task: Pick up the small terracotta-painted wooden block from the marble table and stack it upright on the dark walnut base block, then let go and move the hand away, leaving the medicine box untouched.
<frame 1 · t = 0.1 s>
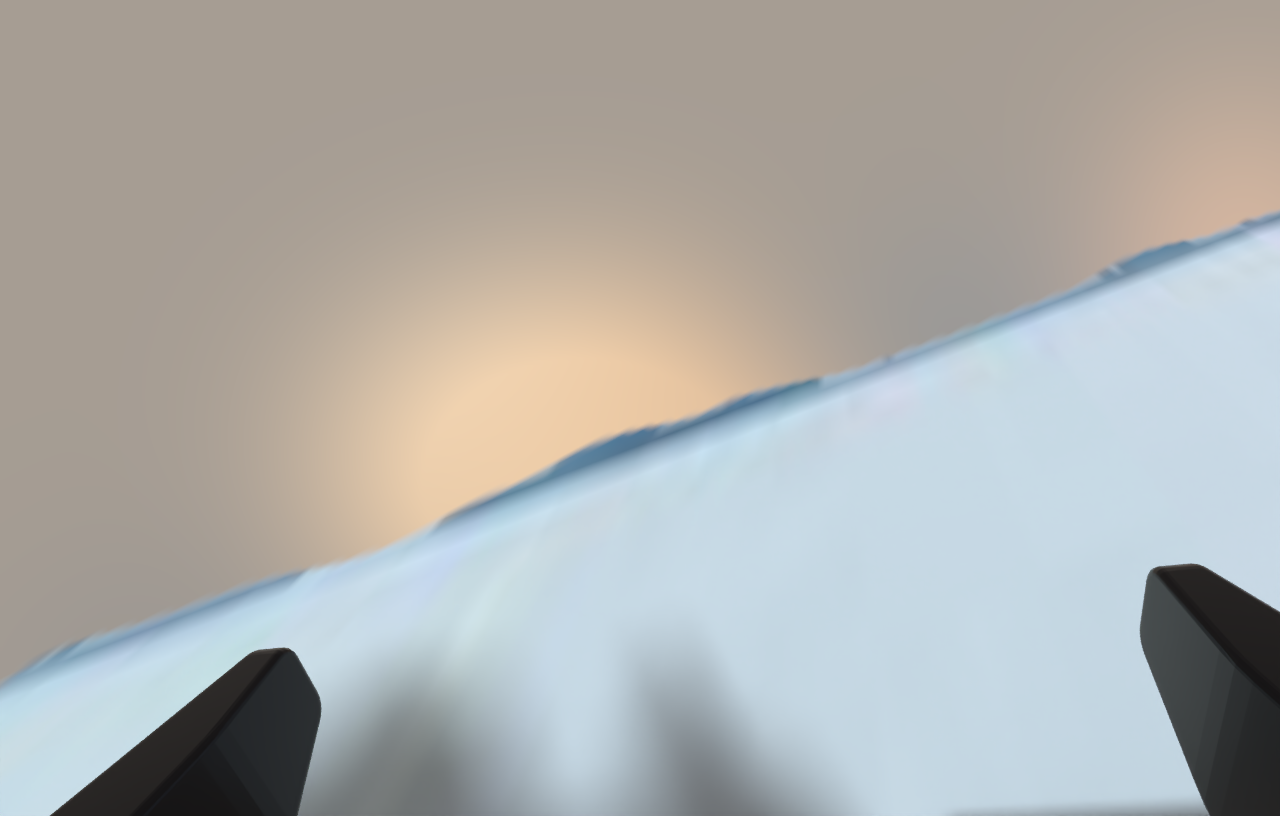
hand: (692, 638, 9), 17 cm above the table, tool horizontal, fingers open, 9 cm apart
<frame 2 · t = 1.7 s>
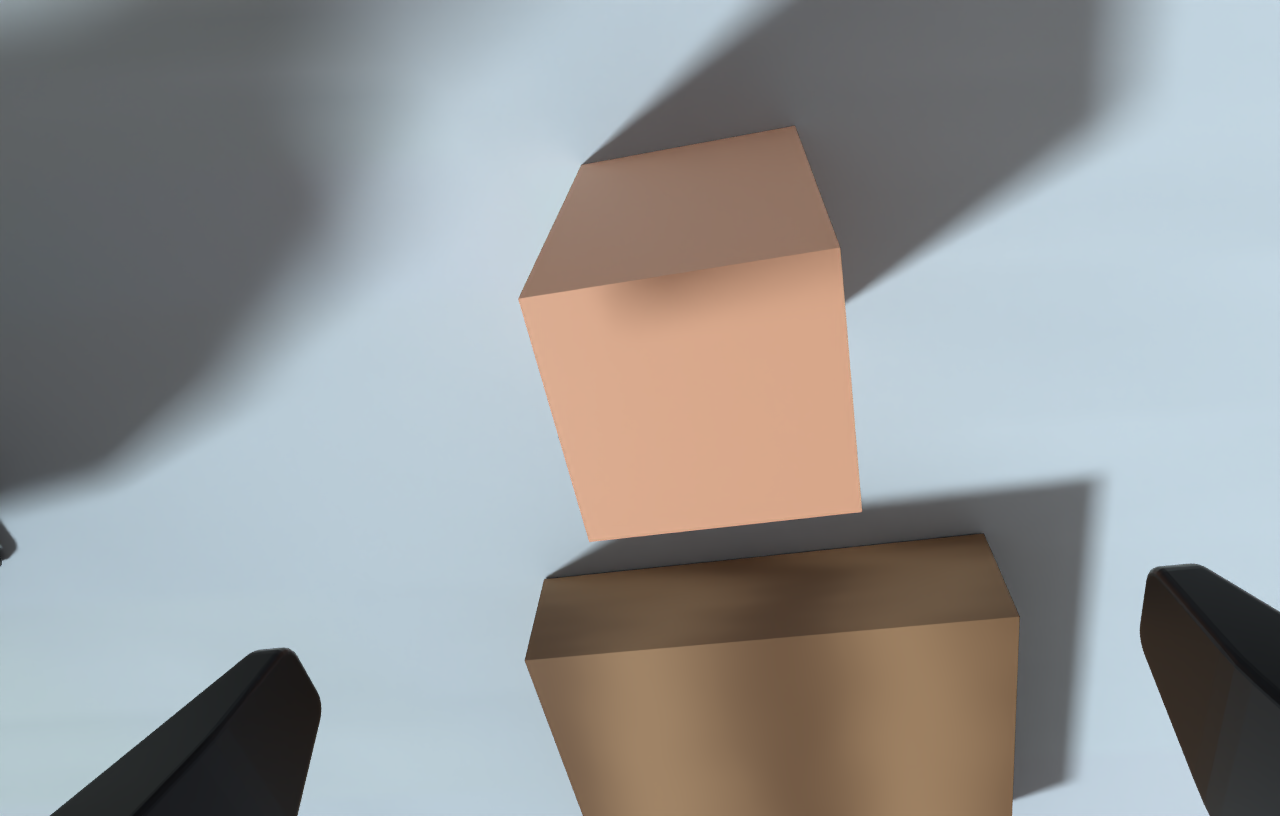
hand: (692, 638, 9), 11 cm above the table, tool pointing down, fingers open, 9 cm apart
walnut base: (779, 704, 26), on the table
terracotta block: (703, 247, 19), on the table
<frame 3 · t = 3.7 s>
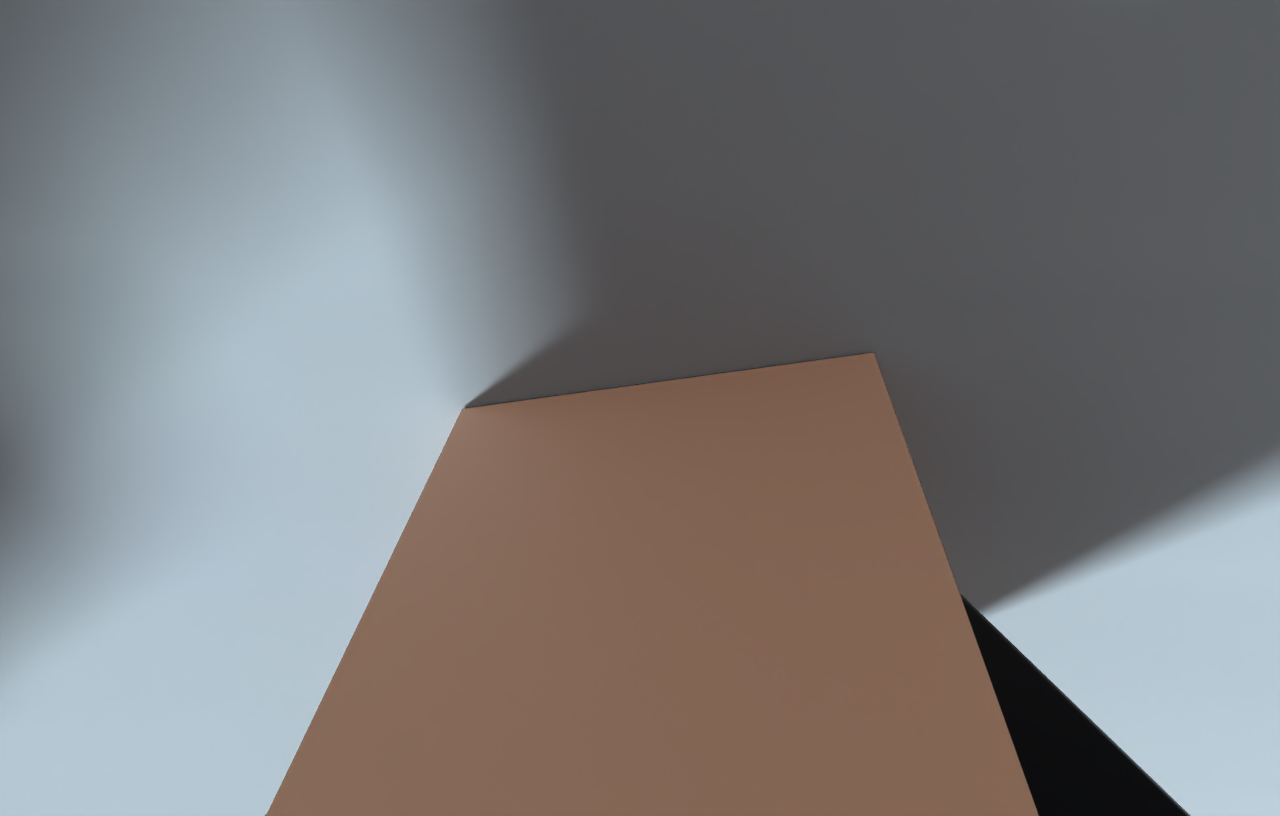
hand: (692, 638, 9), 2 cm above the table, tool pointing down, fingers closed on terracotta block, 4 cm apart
terracotta block: (693, 542, 10), on the table, touching gripper
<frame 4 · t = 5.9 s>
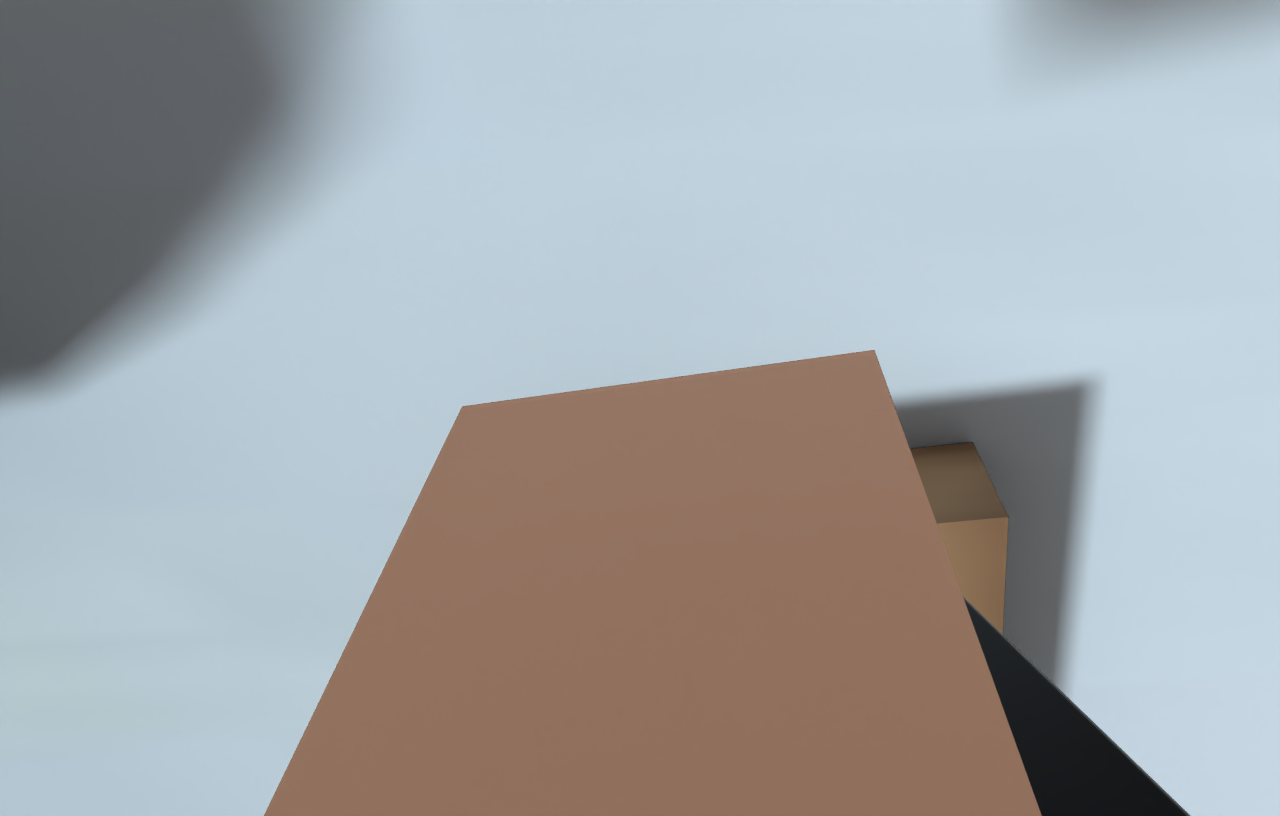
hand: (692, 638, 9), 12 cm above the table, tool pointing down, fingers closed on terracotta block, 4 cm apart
walnut base: (759, 631, 25), on the table
terracotta block: (693, 540, 10), point 10 cm above the table, touching gripper
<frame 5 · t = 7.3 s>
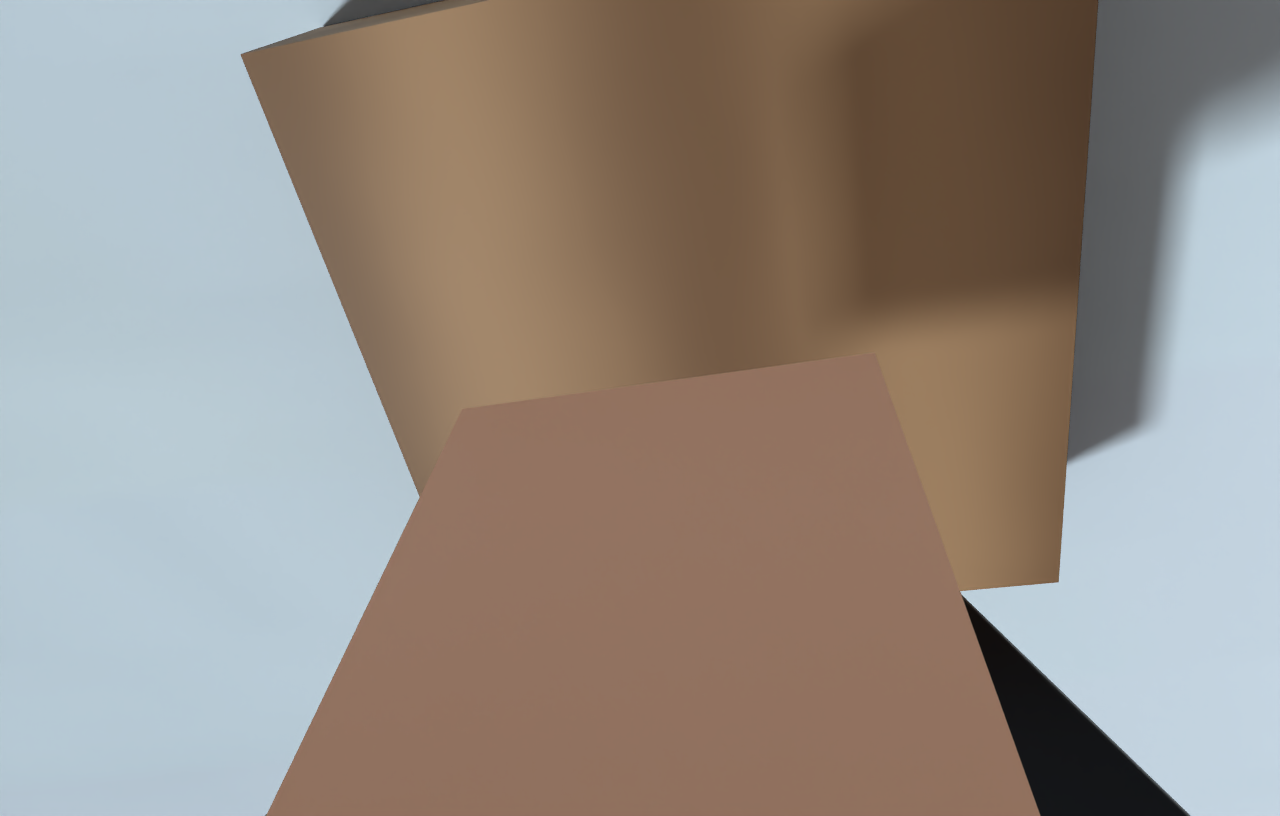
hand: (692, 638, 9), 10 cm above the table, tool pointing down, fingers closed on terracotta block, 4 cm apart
walnut base: (706, 285, 17), on the table
terracotta block: (694, 542, 10), point 8 cm above the table, touching gripper
when the fingers open (6 cm above the table, at t = 8.2 s): terracotta block drops 1 cm, resting on walnut base.
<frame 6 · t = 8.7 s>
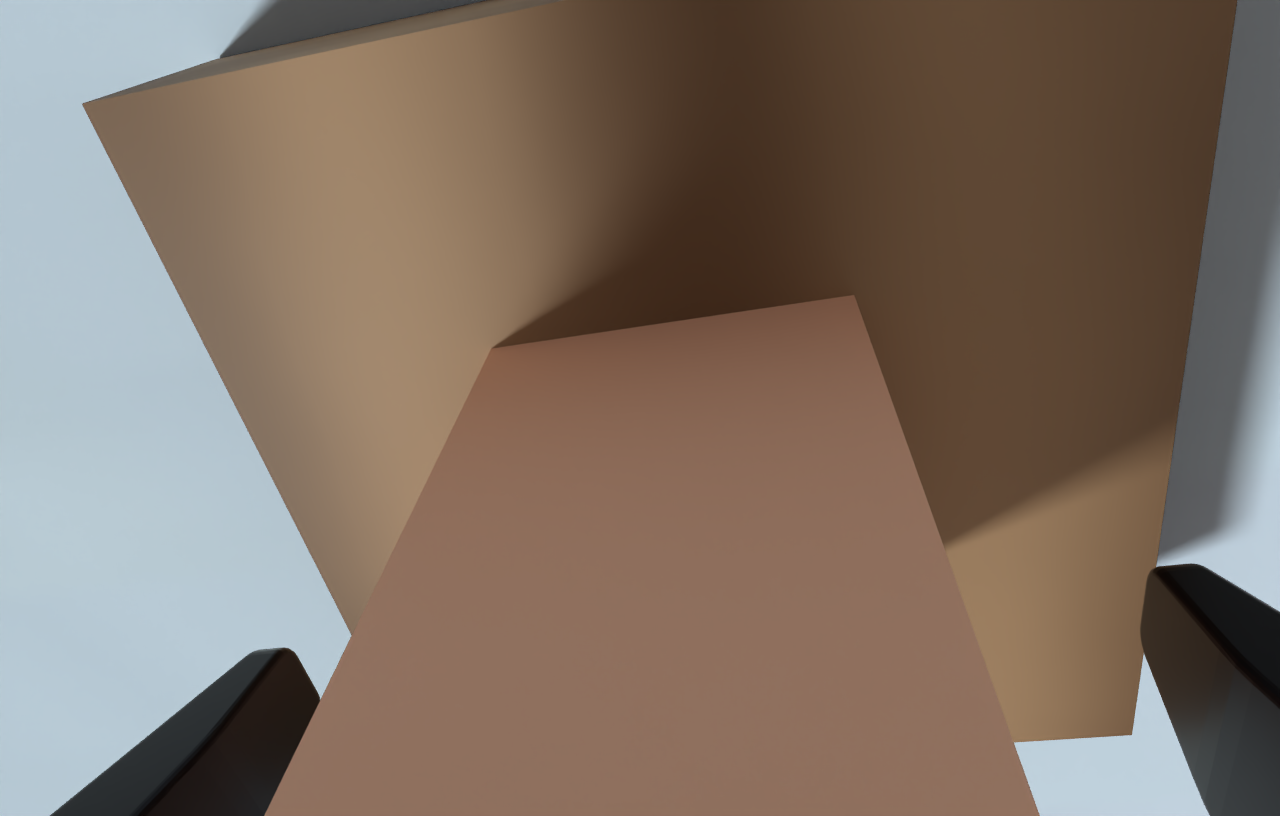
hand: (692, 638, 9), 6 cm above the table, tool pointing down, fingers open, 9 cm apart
walnut base: (701, 368, 14), on the table
terracotta block: (695, 471, 11), point 3 cm above the table, touching walnut base
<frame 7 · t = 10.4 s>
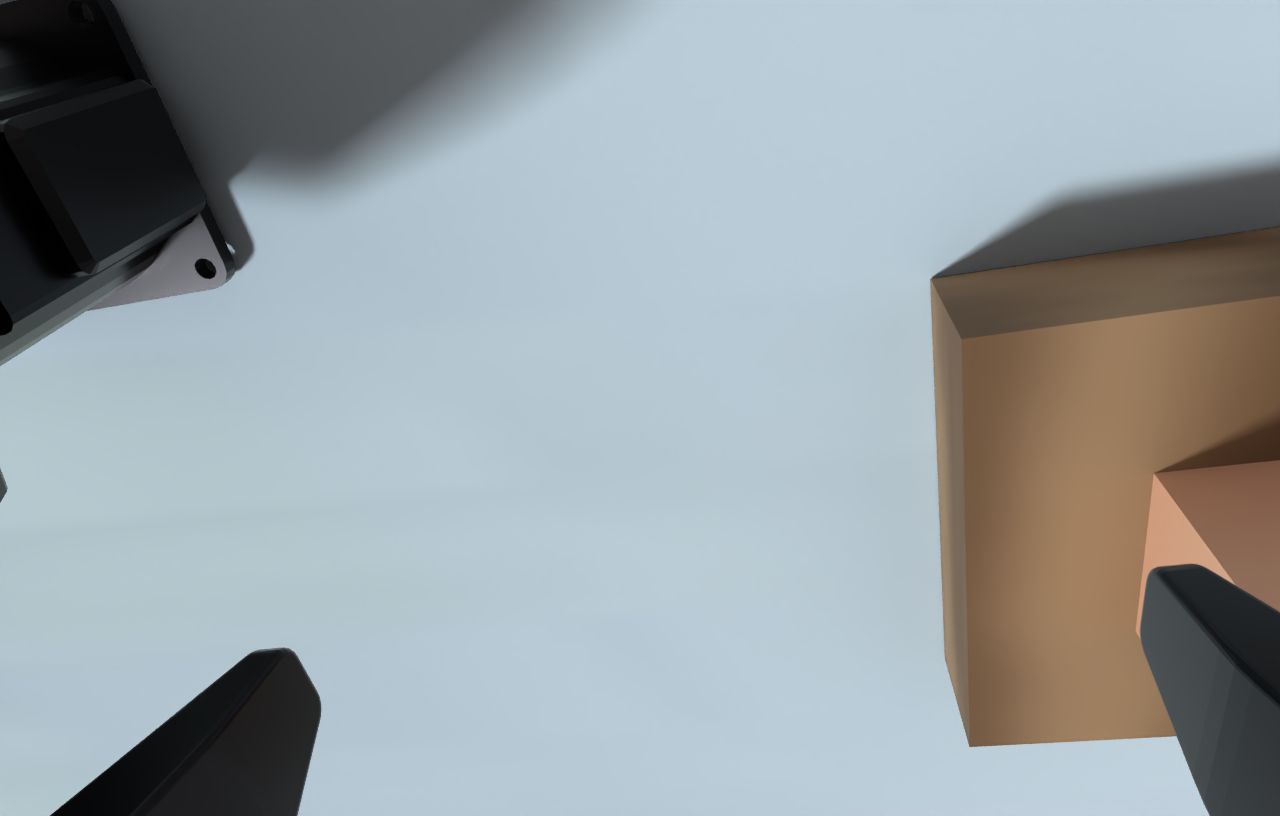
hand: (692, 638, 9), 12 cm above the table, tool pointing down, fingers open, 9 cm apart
walnut base: (1194, 467, 21), on the table
terracotta block: (1258, 546, 18), point 3 cm above the table, touching walnut base
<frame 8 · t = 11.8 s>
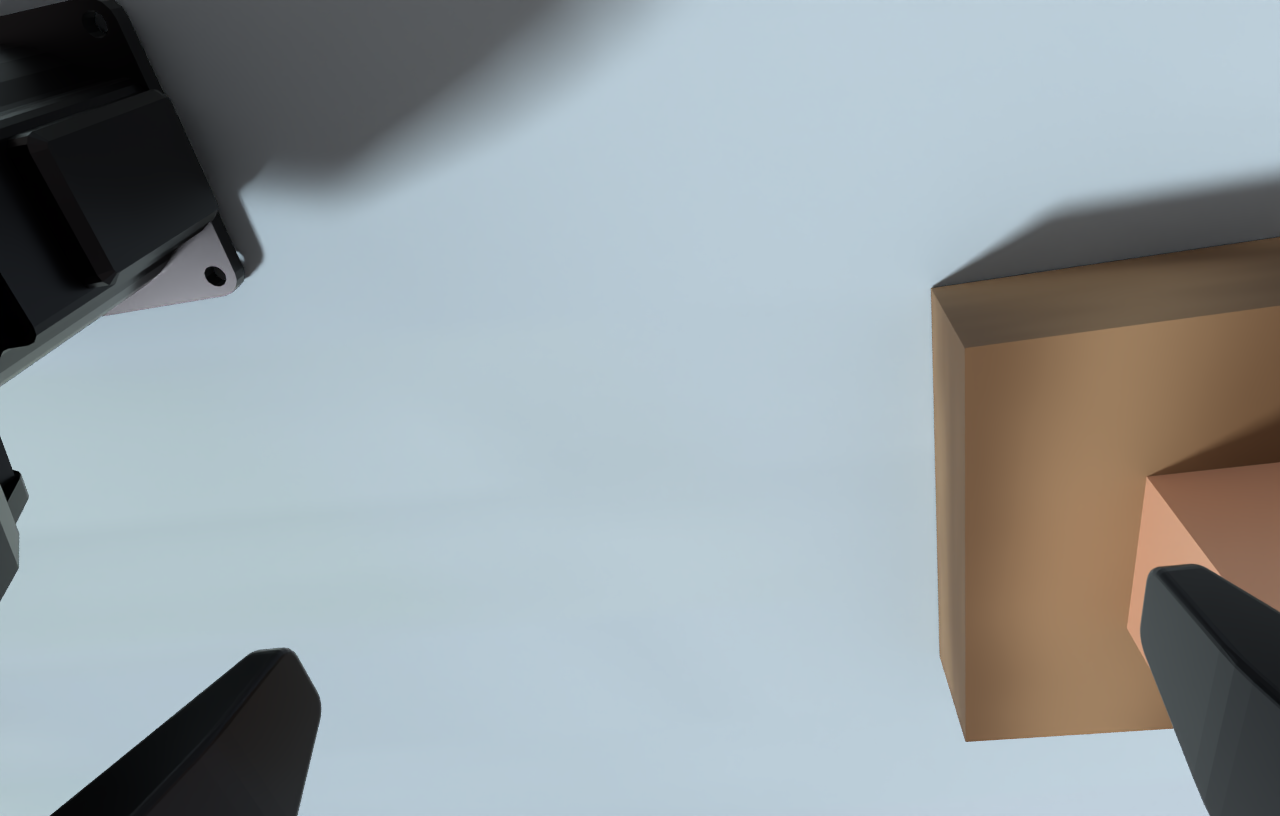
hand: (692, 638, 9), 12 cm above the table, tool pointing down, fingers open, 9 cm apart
walnut base: (1181, 469, 21), on the table
terracotta block: (1244, 546, 19), point 3 cm above the table, touching walnut base
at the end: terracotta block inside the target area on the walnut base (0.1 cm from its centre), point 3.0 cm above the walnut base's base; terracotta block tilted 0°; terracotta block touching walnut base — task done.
